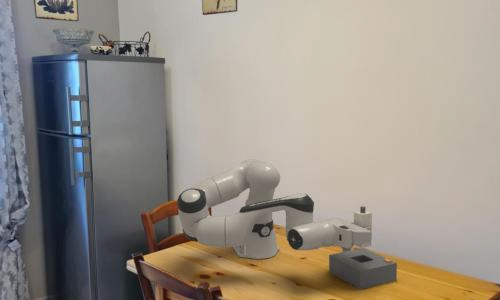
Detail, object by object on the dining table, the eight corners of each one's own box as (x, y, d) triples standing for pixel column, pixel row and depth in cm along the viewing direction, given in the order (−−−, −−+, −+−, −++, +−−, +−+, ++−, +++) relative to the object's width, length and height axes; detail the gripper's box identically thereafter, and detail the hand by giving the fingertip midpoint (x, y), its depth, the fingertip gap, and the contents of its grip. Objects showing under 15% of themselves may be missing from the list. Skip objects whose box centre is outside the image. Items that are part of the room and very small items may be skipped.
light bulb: (354, 261, 183) (354, 236, 182) (338, 260, 184) (339, 236, 183) (353, 256, 189) (354, 232, 188) (339, 255, 190) (339, 231, 189)
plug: (353, 244, 168) (354, 206, 166) (363, 242, 170) (363, 205, 168) (361, 247, 164) (361, 209, 163) (371, 245, 166) (371, 207, 164)
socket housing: (329, 271, 174) (329, 253, 173) (363, 264, 180) (363, 246, 179) (360, 289, 157) (360, 269, 156) (396, 280, 164) (396, 261, 163)
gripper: (316, 233, 171) (346, 228, 176) (350, 249, 152) (383, 243, 158) (316, 216, 170) (346, 211, 176) (350, 231, 151) (384, 225, 157)
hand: (364, 226), depth 167 cm, fingers closed on plug, 4 cm apart
